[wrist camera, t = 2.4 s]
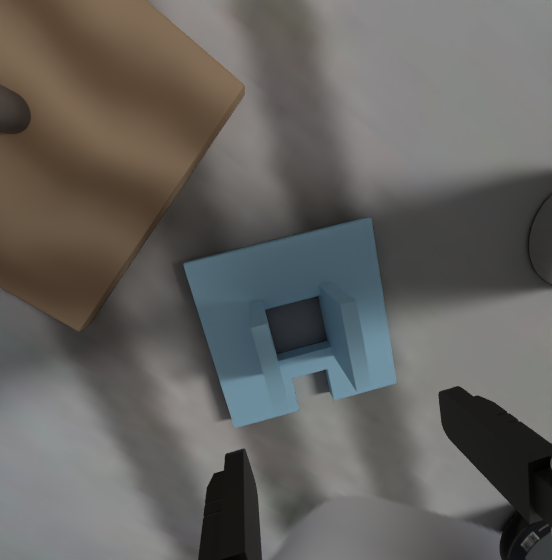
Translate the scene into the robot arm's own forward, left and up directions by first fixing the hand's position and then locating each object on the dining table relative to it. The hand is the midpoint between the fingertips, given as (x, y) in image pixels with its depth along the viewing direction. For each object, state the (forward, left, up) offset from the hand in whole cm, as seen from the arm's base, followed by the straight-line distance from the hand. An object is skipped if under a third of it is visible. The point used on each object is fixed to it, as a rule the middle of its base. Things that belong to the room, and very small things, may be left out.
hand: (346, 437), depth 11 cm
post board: (-1, -23, -13) cm, 26 cm away
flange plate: (0, 0, -13) cm, 13 cm away
